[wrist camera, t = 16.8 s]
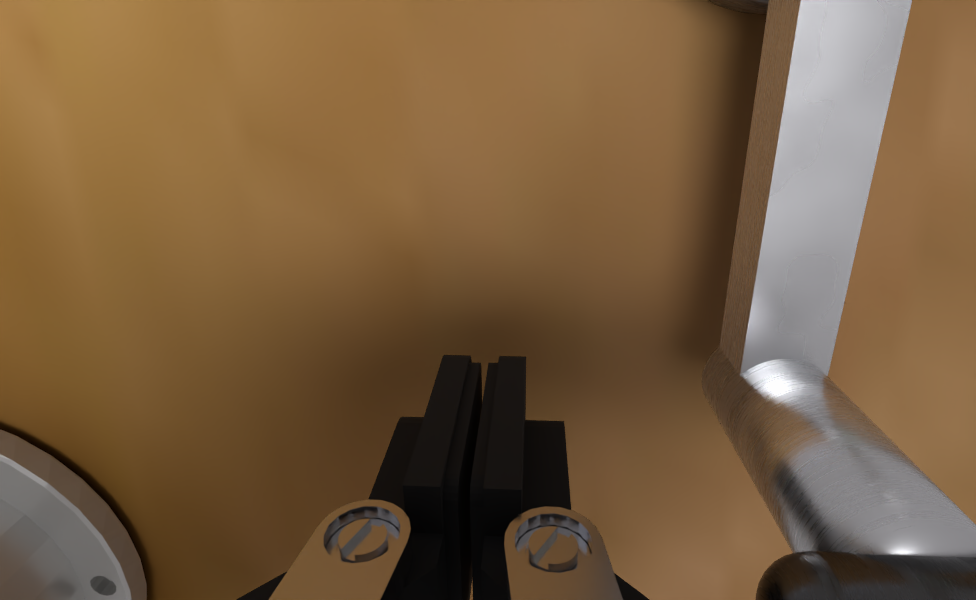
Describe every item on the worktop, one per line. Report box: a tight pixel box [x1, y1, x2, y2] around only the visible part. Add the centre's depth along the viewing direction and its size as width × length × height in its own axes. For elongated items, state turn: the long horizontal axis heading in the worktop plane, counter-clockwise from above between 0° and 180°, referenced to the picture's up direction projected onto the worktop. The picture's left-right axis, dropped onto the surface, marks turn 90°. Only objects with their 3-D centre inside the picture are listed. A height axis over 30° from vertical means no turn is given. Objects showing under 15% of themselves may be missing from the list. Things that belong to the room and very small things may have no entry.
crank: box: [702, 0, 976, 600], centre depth 8 cm, size 14×5×8 cm, turn 1°
